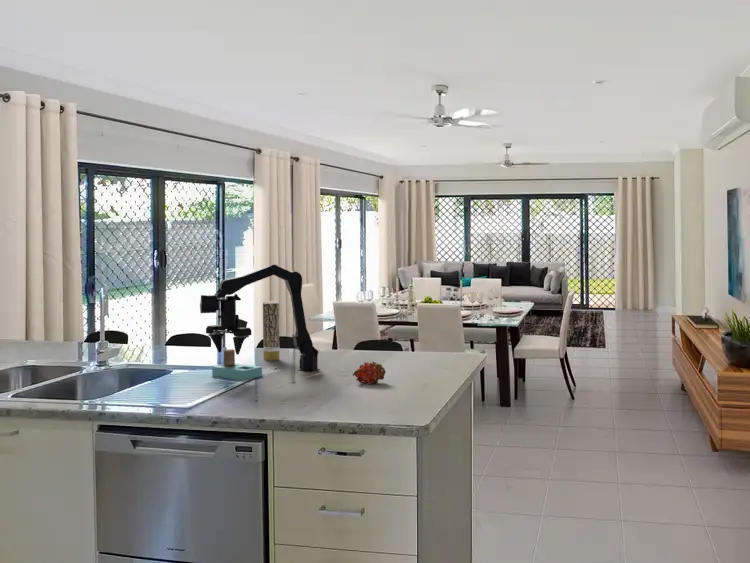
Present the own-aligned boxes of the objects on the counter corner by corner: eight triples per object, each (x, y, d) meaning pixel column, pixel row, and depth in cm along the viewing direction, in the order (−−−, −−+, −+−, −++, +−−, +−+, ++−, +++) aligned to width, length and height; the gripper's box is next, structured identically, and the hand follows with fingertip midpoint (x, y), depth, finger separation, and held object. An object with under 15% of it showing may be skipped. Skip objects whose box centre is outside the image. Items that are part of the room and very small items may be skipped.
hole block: (262, 377, 283) (261, 366, 282) (243, 381, 274) (243, 370, 274) (231, 373, 291) (231, 362, 291) (212, 377, 283) (212, 366, 283)
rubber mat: (281, 371, 294) (281, 370, 293) (264, 375, 285) (264, 374, 285) (262, 369, 299) (262, 368, 299) (245, 373, 291) (245, 372, 291)
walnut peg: (237, 375, 286) (236, 349, 285) (229, 377, 282) (229, 351, 282) (229, 374, 288) (229, 349, 287) (222, 376, 284) (221, 350, 284)
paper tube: (276, 361, 317) (275, 302, 316) (261, 361, 319) (260, 302, 317) (281, 358, 324) (281, 301, 323) (266, 358, 325) (265, 301, 324)
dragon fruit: (388, 387, 270) (355, 393, 269) (384, 370, 276) (352, 376, 275) (387, 371, 265) (353, 377, 263) (383, 354, 271) (350, 360, 270)
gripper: (261, 311, 285) (261, 352, 286) (225, 309, 295) (226, 348, 296) (240, 314, 276) (241, 356, 277) (204, 311, 286) (205, 352, 287)
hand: (228, 353), depth 284 cm, fingers open, 9 cm apart
